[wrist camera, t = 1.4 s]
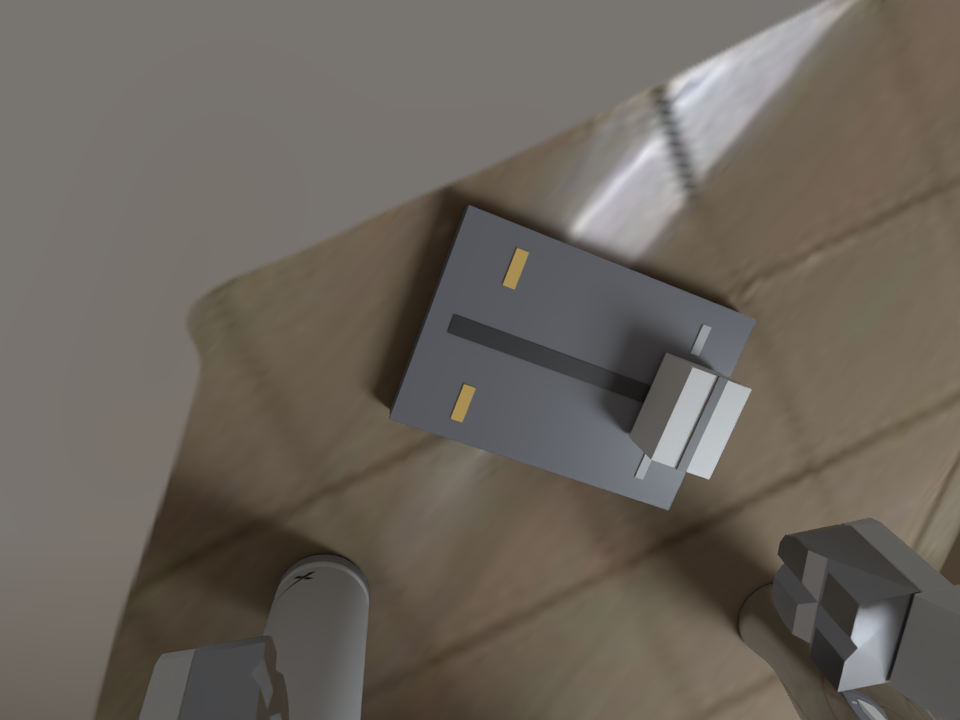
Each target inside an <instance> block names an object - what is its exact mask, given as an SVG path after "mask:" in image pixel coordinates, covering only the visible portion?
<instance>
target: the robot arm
mask: <svg viewBox="0 0 960 720" xmlns="http://www.w3.org/2000/svg"><path fill="white" fill-rule="evenodd" d="M778 556H779V557H780V558H781V559H782V561H783V562H784V564H783V565H782V567H781V568H780V569H779V570H778V571H777V573H776V574H775V575H774V580H773V589H772V593H773V597H774V601H775V605H776V609H777V611H778V613H779V615H780V617H781V619H782V621H783V622H784V624H785V625H786V626H787V628H788V629H789V630H790V632H791V633H792V634H793V635H795V636H797V637H799V638H801V639H803V640H805V641H806V642H808V643H810V658H811V659H812V660H813V661H814V663H815V664H816V665H817V667H818V668H819V669H820V670H821V672H822V673H823V674H824V676H825V677H826V678H827V679H828V681H829V682H830V683H831V684H832V686H833V687H834V688H835V690H836V691H837V692H841V691H846V690H851V689H856V688H861V687H866V686H871V685H876V684H881V683H886V682H889V686H891V687H892V688H894V689H895V690H897V691H899V692H900V693H902V694H903V695H905V696H906V697H908V698H910V699H911V700H913V701H914V702H916V703H917V704H919V705H921V706H922V707H924V708H925V709H927V710H928V711H930V712H932V713H933V714H935V715H936V716H938V717H939V718H941V719H943V720H960V585H956V586H953V585H952V584H951V583H950V582H949V581H948V580H947V579H945V578H944V577H943V576H942V575H941V574H940V573H938V572H937V571H936V570H935V569H934V568H933V567H932V566H930V565H929V564H928V563H927V562H926V561H925V560H924V559H922V558H921V557H920V556H919V555H918V554H917V553H915V552H914V551H913V550H912V549H911V548H910V547H909V546H907V545H906V544H905V543H904V542H903V541H902V540H901V539H899V538H898V537H897V536H896V535H895V534H894V533H892V532H891V531H890V530H889V529H888V528H887V527H886V526H884V525H883V524H882V523H881V522H879V521H877V520H875V519H872V518H867V519H862V520H857V521H852V522H847V523H842V524H841V525H833V526H828V527H823V528H818V529H813V530H808V531H803V532H798V533H793V534H788V535H785V536H784V537H783V539H782V540H781V541H780V544H779V550H778ZM276 659H277V651H276V648H275V645H274V642H273V638H272V637H271V636H269V635H267V636H261V637H255V638H249V639H243V640H237V641H231V642H225V643H220V644H214V645H208V646H202V647H199V648H194V649H188V650H182V651H176V652H170V653H164V654H162V655H161V656H160V658H159V659H158V661H157V662H156V664H155V666H154V669H153V673H152V676H151V679H150V683H149V686H148V689H147V693H146V696H145V699H144V703H143V706H142V709H141V713H140V716H139V719H138V720H289V702H288V696H287V689H286V684H285V680H284V676H283V674H282V673H280V672H278V671H277V670H276Z"/></svg>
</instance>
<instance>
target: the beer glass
mask: <svg viewBox="0 0 960 720" xmlns="http://www.w3.org/2000/svg"><path fill="white" fill-rule="evenodd" d="M772 589H773V583H771V584H768V585H765V586H763V587H761V588H759V589H758V590H756V591H755V592H754V593H753V594H752V595H751V596H750V597H749V598H748V599H747V600H746V601H745V603H744V605H743V606H742V608H741V611H740V614H739V618H738V629H739V633H740V635H741V638H742V639H743V641H744V642H745V644H746V645H747V646H748V647H749V648H750V649H751V650H753V651H754V652H755V653H756V654H757V655H759V656H760V657H761V658H762V659H764V660H765V661H766V662H767V663H768V664H769V665H770V666H771V667H772V669H773V670H774V671H775V673H776V674H777V676H778V677H779V679H780V681H781V683H782V685H783V686H784V688H785V690H786V692H787V694H788V696H789V698H790V700H791V702H792V704H793V706H794V708H795V709H796V711H797V713H798V715H799V717H800V719H801V720H943V719H941V718H939V717H938V716H936V715H935V714H933V713H932V712H930V711H928V710H927V709H925V708H924V707H922V706H921V705H919V704H917V703H916V702H914V701H913V700H911V699H910V698H908V697H906V696H905V695H903V694H902V693H900V692H899V691H897V690H895V689H894V688H892V687H891V686H889V682H886V683H881V684H876V685H871V686H866V687H861V688H856V689H851V690H846V691H841V692H837V691H836V690H835V688H834V687H833V686H832V684H831V683H830V682H829V681H828V679H827V678H826V677H825V676H824V674H823V673H822V672H821V670H820V669H819V668H818V667H817V665H816V664H815V663H814V661H813V660H812V659H811V658H810V643H808V642H806V641H805V640H803V639H801V638H799V637H797V636H795V635H793V634H792V633H791V632H790V630H789V629H788V628H787V626H786V625H785V624H784V622H783V621H782V619H781V617H780V615H779V613H778V611H777V609H776V605H775V601H774V597H773V593H772Z"/></svg>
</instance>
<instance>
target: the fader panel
mask: <svg viewBox="0 0 960 720" xmlns="http://www.w3.org/2000/svg"><path fill="white" fill-rule="evenodd" d="M755 322H756V319H753V318H751V317H748V316H746V315H743V314H741V313H738V312H736V311H733V310H731V309H728V308H726V307H723V306H721V305H718V304H716V303H713V302H711V301H708V300H706V299H703V298H701V297H698V296H696V295H693V294H691V293H688V292H686V291H683V290H681V289H678V288H676V287H673V286H671V285H668V284H666V283H663V282H661V281H658V280H656V279H653V278H651V277H648V276H646V275H643V274H641V273H638V272H636V271H633V270H631V269H628V268H626V267H623V266H621V265H618V264H616V263H613V262H611V261H608V260H606V259H603V258H601V257H598V256H596V255H593V254H591V253H588V252H586V251H583V250H581V249H578V248H576V247H573V246H571V245H568V244H566V243H563V242H561V241H558V240H556V239H553V238H551V237H548V236H546V235H543V234H541V233H538V232H536V231H533V230H531V229H528V228H526V227H523V226H521V225H518V224H516V223H513V222H511V221H508V220H506V219H503V218H501V217H498V216H496V215H493V214H491V213H488V212H486V211H483V210H481V209H478V208H476V207H473V206H471V205H466V206H465V209H464V211H463V214H462V217H461V219H460V222H459V225H458V227H457V230H456V233H455V236H454V238H453V241H452V244H451V246H450V249H449V252H448V254H447V257H446V260H445V262H444V265H443V268H442V270H441V273H440V276H439V279H438V281H437V284H436V287H435V289H434V292H433V295H432V297H431V300H430V303H429V305H428V308H427V311H426V314H425V316H424V319H423V322H422V324H421V327H420V330H419V332H418V335H417V338H416V340H415V343H414V346H413V349H412V351H411V354H410V357H409V359H408V362H407V365H406V367H405V370H404V373H403V375H402V378H401V381H400V384H399V386H398V389H397V392H396V394H395V397H394V400H393V402H392V405H391V408H390V416H389V419H391V420H394V421H397V422H400V423H403V424H406V425H409V426H412V427H415V428H418V429H421V430H424V431H428V432H431V433H434V434H437V435H440V436H443V437H446V438H449V439H452V440H455V441H458V442H461V443H464V444H467V445H470V446H473V447H476V448H479V449H483V450H486V451H489V452H492V453H495V454H498V455H501V456H504V457H507V458H510V459H513V460H516V461H519V462H522V463H525V464H528V465H531V466H534V467H538V468H541V469H544V470H547V471H550V472H553V473H556V474H559V475H562V476H565V477H568V478H571V479H574V480H577V481H580V482H583V483H586V484H589V485H592V486H596V487H599V488H602V489H605V490H608V491H611V492H614V493H617V494H620V495H623V496H626V497H629V498H632V499H635V500H638V501H641V502H644V503H647V504H651V505H654V506H657V507H660V508H663V509H666V510H669V508H670V506H671V504H672V502H673V500H674V497H675V495H676V493H677V491H678V489H679V487H680V484H681V482H682V480H683V478H684V476H685V474H686V473H684V472H681V471H678V470H676V469H675V468H674V467H671V466H668V465H665V464H662V463H659V462H656V461H653V460H651V459H650V458H649V457H648V456H647V455H646V454H645V453H644V452H643V451H642V450H641V449H640V448H639V447H638V446H637V445H636V444H635V443H634V442H633V441H632V440H631V439H630V438H629V436H630V433H631V431H632V429H633V427H634V424H635V422H636V420H637V418H638V415H639V413H640V411H641V409H642V406H643V404H644V402H645V399H646V397H647V395H648V393H649V390H650V388H651V386H652V384H653V381H654V379H655V377H656V375H657V372H658V370H659V368H660V366H661V363H662V361H663V359H664V356H665V354H666V353H669V354H672V355H674V356H677V357H679V358H682V359H685V360H687V361H690V362H693V363H695V364H698V365H701V366H703V367H706V368H709V369H711V370H714V371H717V372H719V373H721V374H723V375H725V376H727V377H729V378H730V376H731V374H732V372H733V370H734V368H735V365H736V363H737V361H738V359H739V357H740V355H741V352H742V350H743V348H744V346H745V344H746V342H747V340H748V337H749V335H750V333H751V331H752V329H753V327H754V324H755Z"/></svg>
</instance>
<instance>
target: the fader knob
mask: <svg viewBox="0 0 960 720" xmlns="http://www.w3.org/2000/svg"><path fill="white" fill-rule="evenodd" d="M751 390H752V389H750V388H748V387H746V386H744V385H742V384H741V383H739V382H737V381H735V380H733V379H731V378H729V377H727V376H725V375H723V374H721V373H719V372H717V371H714V370H711V369H709V368H706V367H703V366H701V365H698V364H695V363H693V362H690V361H687V360H685V359H682V358H679V357H677V356H674V355H672V354H669V353H666V354H665V356H664V359H663V361H662V363H661V366H660V368H659V370H658V372H657V375H656V377H655V379H654V381H653V384H652V386H651V388H650V390H649V393H648V395H647V397H646V399H645V402H644V404H643V406H642V409H641V411H640V413H639V415H638V418H637V420H636V422H635V424H634V427H633V429H632V431H631V433H630V436H629V438H630V439H631V440H632V441H633V442H634V443H635V444H636V445H637V446H638V447H639V448H640V449H641V450H642V451H643V452H644V453H645V454H646V455H647V456H648V457H649V458H650V459H651V460H653V461H656V462H659V463H662V464H665V465H668V466H671V467H674V468H675V469H676V470H678V471H681V472H684V473H686V472H689V473H691V474H694V475H697V476H700V477H703V478H706V479H710V477H711V475H712V473H713V470H714V468H715V466H716V464H717V462H718V460H719V458H720V456H721V453H722V451H723V449H724V447H725V445H726V443H727V441H728V438H729V436H730V434H731V432H732V430H733V428H734V426H735V424H736V421H737V419H738V417H739V415H740V413H741V411H742V409H743V407H744V404H745V402H746V400H747V398H748V396H749V394H750V392H751Z"/></svg>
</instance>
